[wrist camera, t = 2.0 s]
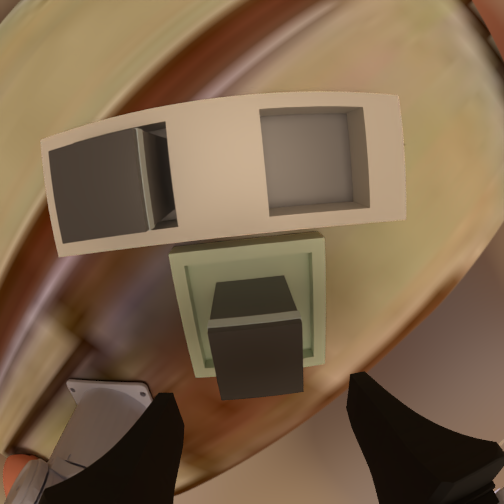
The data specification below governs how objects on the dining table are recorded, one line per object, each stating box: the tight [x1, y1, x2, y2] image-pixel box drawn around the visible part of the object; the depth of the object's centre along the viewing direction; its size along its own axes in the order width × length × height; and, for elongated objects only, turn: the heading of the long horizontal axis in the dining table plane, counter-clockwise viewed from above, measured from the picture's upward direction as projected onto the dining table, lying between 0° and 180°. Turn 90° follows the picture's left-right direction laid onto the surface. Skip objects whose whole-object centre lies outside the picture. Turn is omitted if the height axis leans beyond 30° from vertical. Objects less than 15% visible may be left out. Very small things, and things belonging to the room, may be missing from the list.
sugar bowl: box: [3, 454, 39, 498], centre depth 23 cm, size 12×14×10 cm
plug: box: [207, 275, 303, 400], centre depth 17 cm, size 4×4×6 cm
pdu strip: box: [41, 91, 406, 257], centre depth 16 cm, size 7×20×3 cm, turn 96°
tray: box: [168, 231, 326, 378], centre depth 19 cm, size 9×9×2 cm
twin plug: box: [48, 128, 175, 244], centre depth 14 cm, size 4×4×6 cm
